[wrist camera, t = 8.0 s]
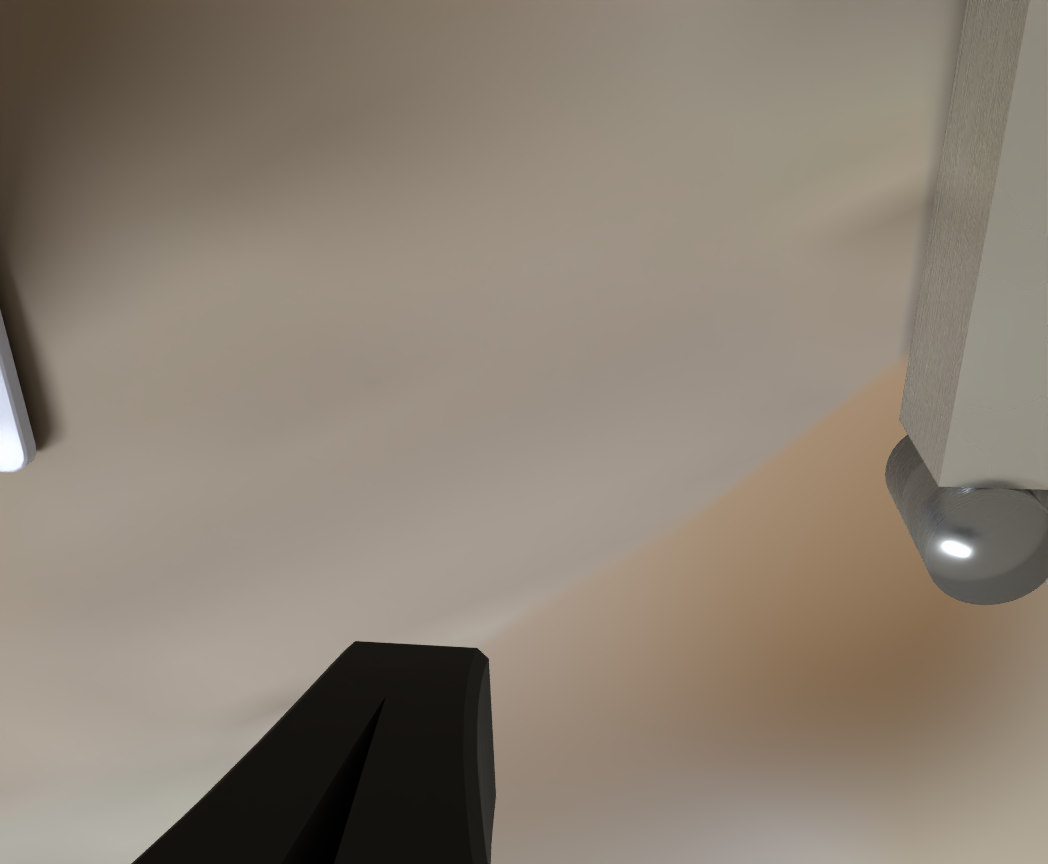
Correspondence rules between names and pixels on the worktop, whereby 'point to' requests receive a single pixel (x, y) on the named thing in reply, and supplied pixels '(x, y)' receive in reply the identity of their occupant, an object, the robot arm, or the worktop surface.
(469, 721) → the robot arm
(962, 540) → the hinged tong arm
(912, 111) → the worktop surface
